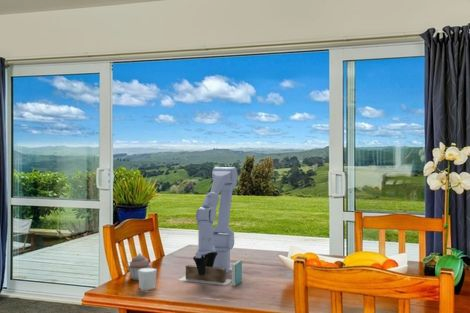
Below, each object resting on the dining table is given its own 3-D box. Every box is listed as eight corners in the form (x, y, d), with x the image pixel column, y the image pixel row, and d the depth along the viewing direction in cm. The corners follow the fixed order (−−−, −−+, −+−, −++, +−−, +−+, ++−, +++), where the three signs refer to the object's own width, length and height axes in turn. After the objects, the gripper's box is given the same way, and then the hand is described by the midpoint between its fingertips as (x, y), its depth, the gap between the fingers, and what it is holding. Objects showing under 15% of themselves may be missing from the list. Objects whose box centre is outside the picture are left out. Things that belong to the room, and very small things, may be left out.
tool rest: (177, 280, 183) (177, 279, 183) (186, 275, 191) (186, 274, 191) (225, 286, 177) (225, 285, 177) (233, 280, 184) (233, 279, 184)
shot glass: (160, 286, 175) (160, 268, 175) (150, 292, 169) (150, 272, 169) (143, 285, 178) (143, 266, 178) (134, 290, 171) (134, 271, 171)
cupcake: (139, 274, 194) (140, 249, 193) (156, 277, 188) (156, 252, 188) (122, 279, 186) (122, 253, 186) (138, 283, 180) (138, 257, 180)
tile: (231, 285, 176) (231, 264, 176) (238, 280, 183) (238, 260, 183) (235, 286, 176) (235, 264, 176) (241, 281, 182) (242, 260, 182)
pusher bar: (185, 278, 185) (185, 265, 185) (188, 277, 188) (188, 264, 188) (223, 282, 180) (223, 269, 180) (225, 281, 182) (225, 268, 182)
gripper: (207, 241, 175) (207, 278, 176) (222, 235, 189) (221, 269, 189) (190, 240, 178) (190, 276, 178) (205, 234, 192) (205, 267, 192)
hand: (205, 272), depth 184 cm, fingers open, 7 cm apart
